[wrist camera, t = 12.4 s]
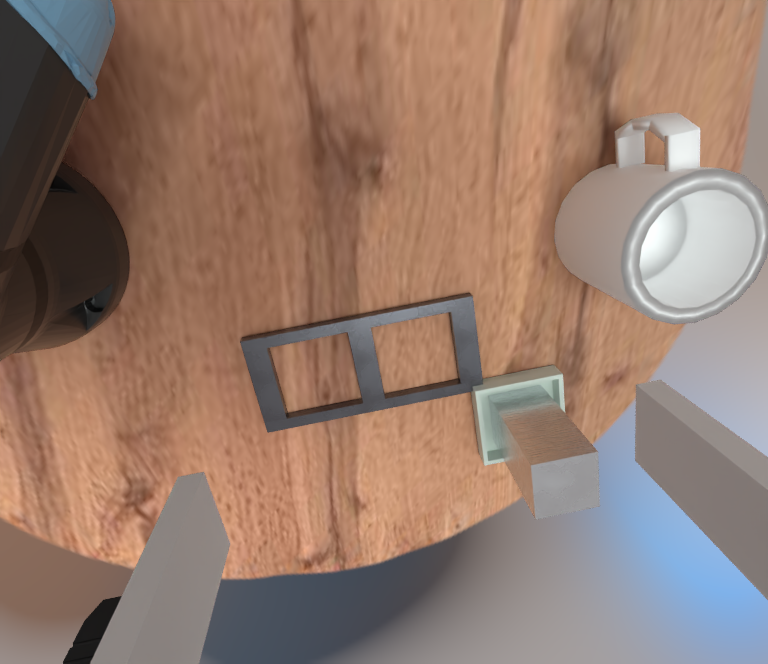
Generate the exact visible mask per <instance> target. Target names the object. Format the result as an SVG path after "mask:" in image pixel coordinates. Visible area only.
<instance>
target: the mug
mask: <svg viewBox="0 0 768 664" xmlns="http://www.w3.org/2000/svg"><path fill="white" fill-rule="evenodd" d="M647 130H650V131H651V132H652V133H654V134H655V135H656V136H657V137H658V138H660V139H661V140H662V141H663V142H665V165H654V164H641V163H645V144H644V132H646V131H647ZM614 132H615V151H616V164H609V165H606V166H604V167H601V168H599V169H596V170H594V171H592V172H590V173H589V174H587V175H586V176H585V177H584V178H582V179H581V180H580V181H579V182H577V183H576V184H575V185H574V186H573V188H572V189H571V190H570V192H569V193H568V195H567V196H566V197H565V199H564V200H563V202H562V204H561V207H560V210H559V212H558V215H557V218H556V220H555V235H554V241H555V245H556V249H557V253H558V256H559V258H560V260H561V261H562V263H563V264H564V266H565V267H566V268H567V270H568V271H569V272H571V273H572V274H573V275H575V276H576V277H578V278H579V279H581V280H582V281H584V282H586V283H588V284H589V285H591V286H593V287H595V288H597V289H599V290H600V291H602V292H604V293H606V294H608V295H610V296H611V297H613V298H615V299H617V300H619V301H620V302H622V303H624V304H626V305H628V306H630V307H631V308H633V309H635V310H637V311H639V312H641V313H642V314H644V315H646V316H648V317H650V318H651V319H654V320H658V321H662V322H666V323H670V324H682V323H693V322H698V321H700V320H703V319H706V318H708V317H711V316H713V315H716V314H718V313H720V312H721V311H722V310H724V309H725V308H727V307H728V306H730V305H731V304H732V303H734V302H735V301H737V300H738V299H739V298H740V297H741V295H743V293H744V292H745V291H746V290H747V289H748V288H749V286H750V285H751V284H752V283H753V282H754V281H755V279H756V278H757V276H758V274H759V272H760V270H761V268H762V266H763V264H764V262H765V260H766V258H767V254H768V204H767V202H766V200H765V198H764V196H763V194H762V192H761V190H760V189H759V188H758V187H757V186H756V185H754V184H753V183H752V182H751V181H750V180H749V179H748V178H746V177H745V176H744V175H741V174H738V173H735V172H732V171H729V170H725V169H722V168H706V167H700V128H699V127H697V126H696V125H695V124H693V123H692V122H690V121H689V120H688V119H686V118H685V117H683V116H682V115H681V114H679V113H657V114H653V115H648V116H644V117H640V118H635V119H631V120H630V121H628V122H627V123H625V124H624V125H623V126H621V127H620V128H619V129H617V130H616V131H614Z"/></svg>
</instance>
